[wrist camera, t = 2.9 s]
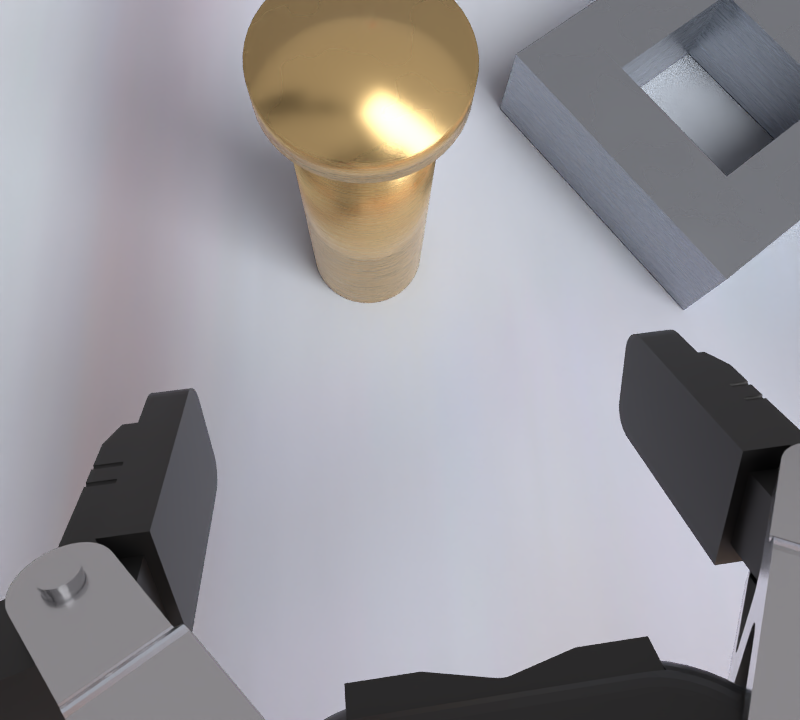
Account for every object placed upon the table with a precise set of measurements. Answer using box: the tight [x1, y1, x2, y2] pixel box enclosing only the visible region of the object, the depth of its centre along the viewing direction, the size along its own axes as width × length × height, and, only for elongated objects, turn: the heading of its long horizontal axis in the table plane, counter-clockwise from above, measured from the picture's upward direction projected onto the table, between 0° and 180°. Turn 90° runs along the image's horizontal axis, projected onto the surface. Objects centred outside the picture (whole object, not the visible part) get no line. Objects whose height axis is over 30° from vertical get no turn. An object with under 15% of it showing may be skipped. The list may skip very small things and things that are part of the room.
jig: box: [500, 0, 800, 309], centre depth 28 cm, size 12×12×4 cm
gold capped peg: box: [243, 0, 479, 303], centre depth 22 cm, size 6×6×12 cm
